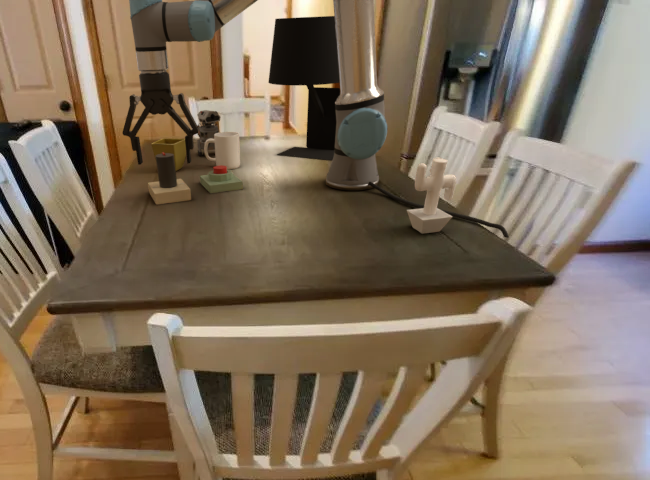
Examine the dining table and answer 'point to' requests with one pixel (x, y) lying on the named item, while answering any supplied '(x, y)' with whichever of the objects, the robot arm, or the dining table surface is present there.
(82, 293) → the dining table surface
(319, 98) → the table lamp
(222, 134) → the cup
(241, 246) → the dining table surface
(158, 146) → the flower pot
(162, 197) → the dimmer panel
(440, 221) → the figurine
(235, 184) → the switch box
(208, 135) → the figurine
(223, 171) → the button
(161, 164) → the dimmer knob
